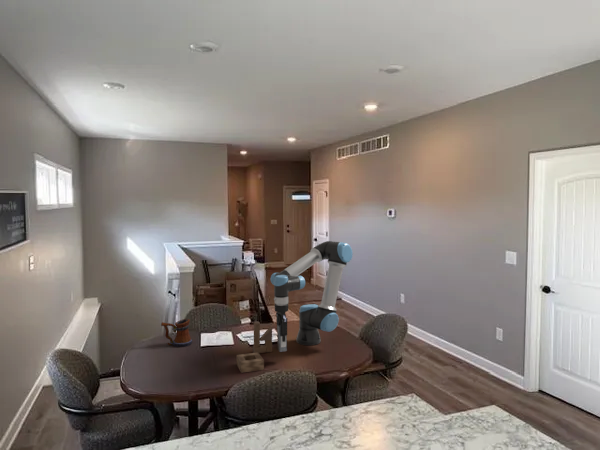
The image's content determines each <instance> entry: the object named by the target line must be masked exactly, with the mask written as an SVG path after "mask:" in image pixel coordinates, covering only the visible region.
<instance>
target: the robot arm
mask: <svg viewBox="0 0 600 450" xmlns="http://www.w3.org/2000/svg"><path fill="white" fill-rule="evenodd" d="M353 254H354V253H353V249H352V247H351V245H350V244H349V243H347V242H342V241H334V240H333V241H332V240H328V241H324V242H321V243H319V244H317V245H315V246H314V247H312V248H311V249H310V252H308V253H306V254H305V255H303V256H302V257H300V258H299V259H297V261H295V262H293V263H292V264H290V265H288V267H286V268H284V269H283V270H282V271H280V272H273V273H272V274H271V275H270V278H269V279H270V283H271V284H272V285H273V287H274V288H273V291H274V292H273V293H274V296H273V297H274V298H273V301H274V312H275V318H276V326H277V325H280V324H281V335H280V336H281V347H286V335H287V336H288V317H287V314H286V312H288V311H289V292H294V291H299V290H302V289H304V288H305V286H306V280H305V277H303V276H302V275H300V274H302V273H304V272H305V271H306V270H307V269H309V268H311V267H312V266H313V265H315V264H316V263H321V262H322V261H324V260H327V263H328V265H329V266H328V270H327V274H326V279H325V283H324V287H323V292H322V297H321V302H320V304H315V303H313V304H303V305H301V306H300V307H299V312H298V315H299V317H298V318H299V319H298V321H299V326H298V327H299V328H298V332H297V336H296V341H295V342H296V343H297V344H299V345H303V346H315V345H319V344H320V343H321V335H320V332H319V330H321V331H323V332H329V333H330V332H332V331H334V330H335V329H336V328H337V327H338V324H339V320H340V317H339V315H338V314H337V312H338V311H337V310H338V309H337V308H336V303H337V298H338V294H339V288H340V286H341V285H340V283H341V280H342V275H343V270H344V268H345V267H347V263H349V262H350V261H352V259H353Z"/></svg>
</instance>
